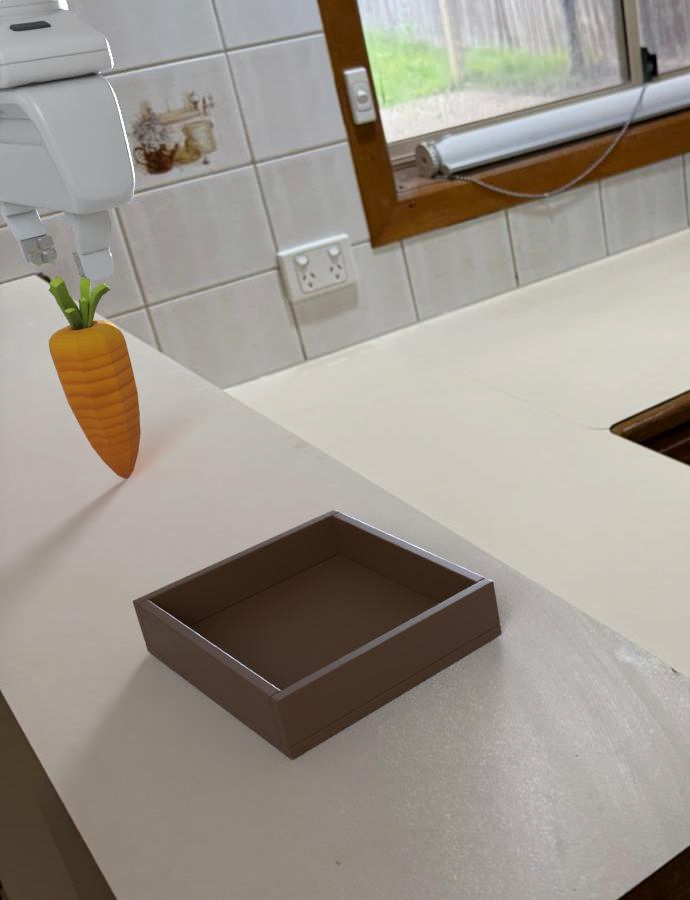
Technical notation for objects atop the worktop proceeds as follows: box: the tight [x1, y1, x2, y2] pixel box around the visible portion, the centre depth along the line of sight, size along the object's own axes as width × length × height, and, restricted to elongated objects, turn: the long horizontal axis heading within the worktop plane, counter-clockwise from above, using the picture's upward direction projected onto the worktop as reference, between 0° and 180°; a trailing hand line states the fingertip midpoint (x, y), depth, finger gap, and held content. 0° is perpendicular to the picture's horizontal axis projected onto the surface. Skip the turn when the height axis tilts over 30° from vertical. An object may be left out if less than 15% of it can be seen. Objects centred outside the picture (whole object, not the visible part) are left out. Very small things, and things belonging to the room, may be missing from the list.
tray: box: [132, 509, 502, 760], centre depth 58 cm, size 14×12×3 cm
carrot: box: [48, 276, 141, 480], centre depth 78 cm, size 5×5×15 cm
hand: (69, 270), depth 75 cm, fingers open, 8 cm apart
